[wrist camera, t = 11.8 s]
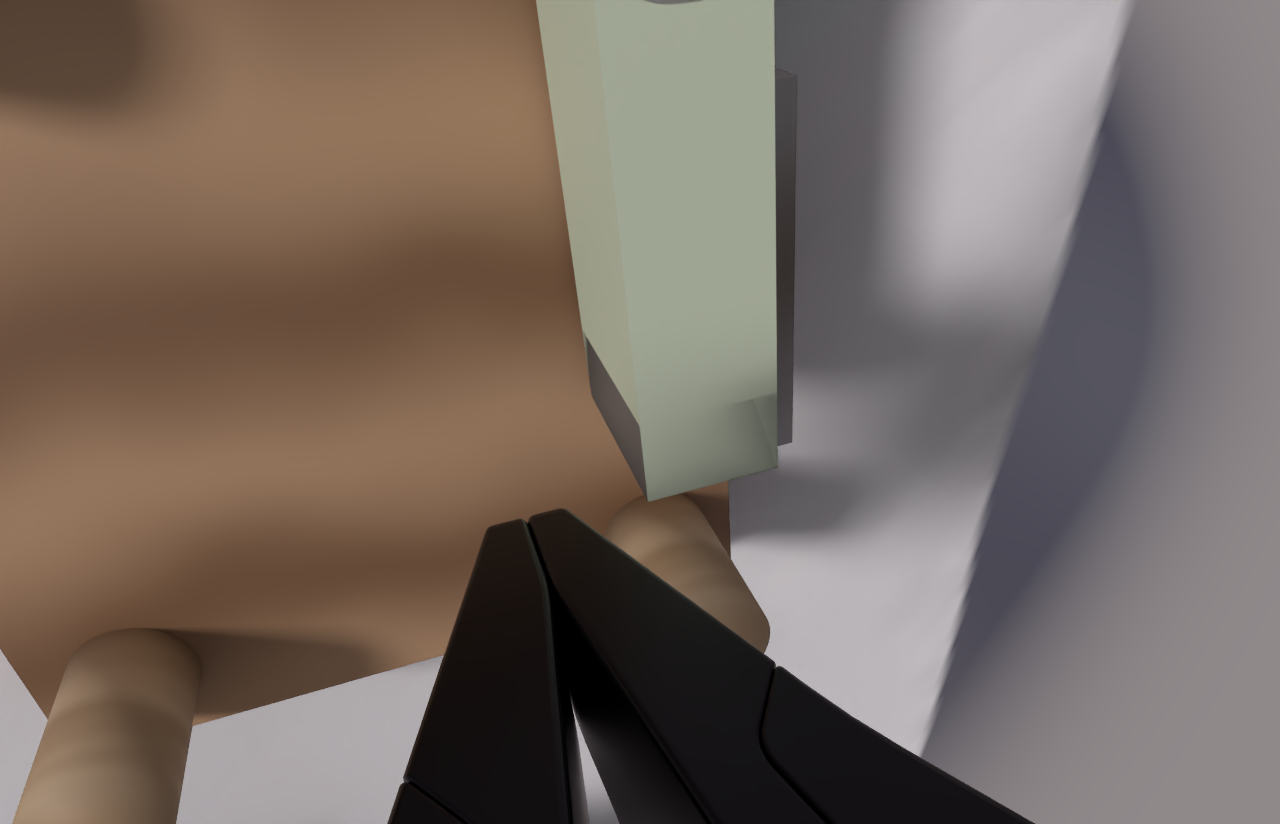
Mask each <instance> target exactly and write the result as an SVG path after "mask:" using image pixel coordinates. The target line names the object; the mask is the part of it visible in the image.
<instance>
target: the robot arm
mask: <svg viewBox="0 0 1280 824" xmlns="http://www.w3.org/2000/svg"><path fill="white" fill-rule="evenodd" d="M572 706H573V708H572ZM573 709H574V712H575V715H576V719H577V721H578V724H579V726H580V729H581V732H582V734H583V737H584V739H585V742H586V744H587V747H588V749H589V751H590V754H591V756H592V758H593V761H594V763H595V766H596V768H597V770H598V773H599V775H600V777H601V780H602V782H603V785H604V787H605V789H606V792H607V794H608V796H609V799H610V801H611V804H612V806H613V808H614V811H615V813H616V815H617V818H618V820H619V823H620V824H1035V823H1033V822H1031V821H1029V820H1028V819H1026V818H1024V817H1022V816H1021V815H1019V814H1017V813H1016V812H1014V811H1012V810H1010V809H1009V808H1007V807H1005V806H1003V805H1001V804H1000V803H998V802H996V801H994V800H993V799H991V798H990V797H988V796H986V795H984V794H983V793H981V792H979V791H977V790H975V789H974V788H972V787H970V786H969V785H967V784H965V783H964V782H962V781H960V780H958V779H957V778H955V777H953V776H951V775H949V774H948V773H946V772H944V771H942V770H941V769H939V768H938V767H936V766H934V765H932V764H931V763H929V762H927V761H925V760H924V759H922V758H920V757H918V756H917V755H915V754H913V753H912V752H910V751H908V750H906V749H905V748H903V747H901V746H900V745H898V744H896V743H895V742H893V741H891V740H890V739H888V738H887V737H885V736H883V735H882V734H880V733H878V732H877V731H875V730H874V729H872V728H870V727H869V726H867V725H865V724H864V723H862V722H860V721H859V720H857V719H856V718H854V717H852V716H851V715H849V714H848V713H846V712H845V711H844V710H842V709H841V708H839V707H838V706H836V705H835V704H833V703H832V702H830V701H829V700H828V699H826V698H825V697H823V696H822V695H820V694H819V693H817V692H816V691H815V690H813V689H812V688H810V687H809V686H807V685H806V684H805V683H803V682H802V681H801V680H799V679H798V678H796V677H795V676H794V675H792V674H791V673H790V672H788V671H787V670H786V669H784V668H783V667H781V666H778V667H776V664H775V662H774V661H773V660H772V659H770V658H769V657H768V656H766V655H765V654H763V653H762V652H761V651H759V650H758V649H757V648H755V647H754V646H753V645H751V644H750V643H748V642H747V641H746V640H744V639H743V638H742V637H740V636H739V635H738V634H736V633H735V632H733V631H732V630H731V629H729V628H728V627H727V626H725V625H724V624H723V623H721V622H720V621H719V620H717V619H716V618H714V617H713V616H712V615H710V614H709V613H708V612H706V611H705V610H704V609H702V608H701V607H699V606H698V605H697V604H695V603H694V602H693V601H691V600H690V599H689V598H687V597H686V596H684V595H683V594H682V593H680V592H679V591H678V590H676V589H675V588H674V587H672V586H671V585H670V584H668V583H667V582H665V581H664V580H663V579H661V578H660V577H659V576H657V575H656V574H655V573H653V572H652V571H650V570H649V569H648V568H646V567H645V566H644V565H642V564H641V563H640V562H638V561H637V560H635V559H634V558H633V557H631V556H630V555H629V554H627V553H626V552H625V551H623V550H622V549H621V548H619V547H618V546H616V545H615V544H614V543H612V542H611V541H610V540H608V539H607V538H606V537H604V536H603V535H601V534H600V533H599V532H597V531H596V530H595V529H593V528H592V527H591V526H589V525H588V524H586V523H585V522H584V521H582V520H581V519H580V518H578V517H577V516H576V515H574V514H573V513H572V512H570V511H569V510H567V509H564V508H558V509H554V510H550V511H546V512H542V513H539V514H535V515H532V516H530V517H529V519H528V524H527V522H526V521H525V520H524V519H521V518H520V519H515V520H511V521H507V522H503V523H499V524H495V525H492V526H490V527H488V528H487V530H486V532H485V534H484V537H483V540H482V543H481V546H480V549H479V552H478V555H477V558H476V561H475V564H474V567H473V570H472V573H471V576H470V579H469V582H468V585H467V588H466V591H465V594H464V597H463V600H462V603H461V606H460V609H459V612H458V615H457V618H456V621H455V624H454V627H453V630H452V633H451V636H450V639H449V642H448V645H447V648H446V651H445V654H444V657H443V660H442V663H441V666H440V669H439V672H438V675H437V678H436V681H435V684H434V687H433V690H432V693H431V696H430V699H429V702H428V705H427V708H426V711H425V714H424V717H423V720H422V723H421V726H420V729H419V732H418V735H417V738H416V741H415V744H414V747H413V750H412V753H411V756H410V759H409V762H408V765H407V768H406V771H405V774H404V777H403V779H404V783H403V784H401V785H400V787H399V790H398V793H397V796H396V799H395V802H394V805H393V808H392V811H391V814H390V817H389V820H388V823H387V824H590V822H589V815H588V808H587V800H586V793H585V786H584V779H583V771H582V764H581V757H580V749H579V742H578V736H577V730H576V724H575V719H574V713H573Z"/></svg>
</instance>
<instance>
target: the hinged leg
mask: <svg viewBox="0 0 1280 824" xmlns="http://www.w3.org/2000/svg"><path fill="white" fill-rule="evenodd" d="M536 4H537V12H538V19H539V26H540V33H541V40H542V47H543V54H544V61H545V68H546V76H547V83H548V90H549V97H550V104H551V111H552V118H553V125H554V132H555V140H556V147H557V154H558V161H559V168H560V175H561V182H562V189H563V196H564V204H565V211H566V218H567V225H568V232H569V239H570V246H571V253H572V260H573V268H574V275H575V282H576V289H577V296H578V303H579V310H580V317H581V324H582V332H583V339H584V346H585V353H586V360H587V367H588V374H589V381H590V388H591V396H592V398H593V400H594V401H595V403H596V405H597V407H598V409H599V411H600V413H601V415H602V416H603V418H604V420H605V422H606V424H607V426H608V428H609V430H610V432H611V433H612V435H613V437H614V439H615V441H616V443H617V445H618V447H619V448H620V450H621V452H622V454H623V456H624V458H625V460H626V462H627V464H628V465H629V467H630V469H631V471H632V473H633V475H634V477H635V479H636V480H637V482H638V484H639V486H640V488H641V490H642V492H643V494H644V496H645V497H646V499H647V501H648V502H649V501H653V500H657V499H661V498H664V497H668V496H672V495H676V494H680V493H683V492H687V491H691V490H695V489H698V488H702V487H706V486H710V485H713V484H717V483H721V482H725V481H728V480H732V479H736V478H740V477H743V476H747V475H751V474H755V473H759V472H762V471H766V470H770V469H774V468H777V467H778V457H777V319H776V180H775V42H774V0H536Z"/></svg>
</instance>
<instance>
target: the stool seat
mask: <svg viewBox="0 0 1280 824" xmlns="http://www.w3.org/2000/svg"><path fill="white" fill-rule="evenodd" d="M796 96H797V76H796V75H793V74H791V73H788V72H785V71H782V70H780V69H777V68H775V180H776V319H777V446H780V445H784V444H788V443H792V412H793V333H794V254H795V175H796ZM558 508H564V509H567V510H569V511H570V512H572V513H573V514H574V515H576V516H577V517H578V518H580V519H581V520H582V521H584V522H585V523H586V524H588V525H589V526H591V527H592V528H593V529H595V530H596V531H597V532H599V533H600V534H601V535H603V536H604V537H606V538H607V539H608V540H610V541H611V542H612V543H614V544H615V545H616V546H618V547H619V548H621V549H622V550H623V551H625V552H626V553H627V554H629V555H630V556H631V557H633V558H634V559H635V560H637V561H638V562H640V563H641V564H642V565H644V566H645V567H646V568H648V569H649V570H650V571H652V572H653V573H655V574H656V575H657V576H659V577H660V578H661V579H663V580H664V581H665V582H667V583H668V584H670V585H671V586H672V587H674V588H675V589H676V590H678V591H679V592H680V593H682V594H683V595H684V596H686V597H687V598H689V599H690V600H691V601H693V602H694V603H695V604H697V605H698V606H699V607H701V608H702V609H704V610H705V611H706V612H708V613H709V614H710V615H712V616H713V617H714V618H716V619H717V620H719V621H720V622H721V623H723V624H724V625H725V626H727V627H728V628H729V629H731V630H732V631H733V632H735V633H736V634H738V635H739V636H740V637H742V638H743V639H744V640H746V641H747V642H748V643H750V644H751V645H753V646H754V647H755V648H757V649H758V650H759V651H761V652H762V653H763V654H764V652H765V650H766V648H767V645H768V642H769V638H770V626H769V622H768V620H767V618H766V616H765V614H764V613H763V611H762V609H761V608H760V606H759V604H758V603H757V601H756V600H755V598H754V596H753V595H752V593H751V591H750V590H749V588H748V586H747V585H746V583H745V582H744V580H743V578H742V577H741V575H740V573H739V572H738V570H737V568H736V567H735V565H734V564H733V562H732V560H731V550H730V523H729V495H728V481H725V482H721V483H717V484H713V485H710V486H706V487H702V488H698V489H695V490H691V491H687V492H683V493H680V494H676V495H672V496H668V497H664V498H661V499H657V500H653V501H649V502H648V501H647V499H646V497H645V496H644V494H643V492H642V490H641V488H640V486H639V484H638V482H637V480H636V479H635V477H634V475H633V473H632V471H631V469H630V467H629V465H628V464H627V462H626V460H625V458H624V456H623V454H622V452H621V450H620V448H619V447H618V445H617V443H616V441H615V439H614V437H613V435H612V433H611V432H610V430H609V428H608V426H607V424H606V422H605V420H604V418H603V416H602V415H601V413H600V411H599V409H598V407H597V405H596V403H595V401H594V400H593V398H592V396H591V388H590V381H589V374H588V367H587V360H586V353H585V346H584V339H583V332H582V324H581V317H580V310H579V303H578V296H577V289H576V282H575V275H574V268H573V260H572V253H571V246H570V239H569V232H568V225H567V218H566V211H565V204H564V196H563V189H562V182H561V175H560V168H559V161H558V154H557V147H556V140H555V132H554V125H553V118H552V111H551V104H550V97H549V90H548V83H547V76H546V68H545V61H544V54H543V47H542V40H541V33H540V26H539V19H538V12H537V4H536V0H0V649H1V651H2V652H3V654H4V655H5V657H6V658H7V660H8V661H9V663H10V664H11V666H12V667H13V669H14V670H15V671H16V673H17V674H18V676H19V677H20V679H21V680H22V682H23V683H24V685H25V686H26V688H27V689H28V691H29V692H30V694H31V695H32V697H33V698H34V700H35V701H36V702H37V704H38V705H39V707H40V708H41V710H42V711H43V713H44V714H45V716H46V717H47V719H48V722H47V724H46V727H45V730H44V733H43V736H42V739H41V742H40V745H39V748H38V750H37V753H36V756H35V759H34V762H33V765H32V768H31V771H30V774H29V776H28V779H27V782H26V785H25V788H24V791H23V794H22V797H21V800H20V802H19V805H18V808H17V811H16V814H15V817H14V820H13V823H12V824H176V820H177V814H178V808H179V802H180V796H181V790H182V784H183V778H184V772H185V766H186V760H187V754H188V748H189V742H190V737H191V731H192V726H194V725H197V724H201V723H205V722H208V721H212V720H215V719H219V718H222V717H226V716H229V715H233V714H236V713H240V712H243V711H247V710H250V709H254V708H258V707H261V706H265V705H268V704H272V703H275V702H279V701H282V700H286V699H289V698H293V697H296V696H300V695H303V694H307V693H311V692H314V691H318V690H321V689H325V688H328V687H332V686H335V685H339V684H342V683H346V682H349V681H353V680H356V679H360V678H363V677H367V676H371V675H374V674H378V673H381V672H385V671H388V670H392V669H395V668H399V667H402V666H406V665H409V664H413V663H416V662H420V661H424V660H427V659H431V658H434V657H438V656H441V655H444V654H445V651H446V648H447V645H448V642H449V639H450V636H451V633H452V630H453V627H454V624H455V621H456V618H457V615H458V612H459V609H460V606H461V603H462V600H463V597H464V594H465V591H466V588H467V585H468V582H469V579H470V576H471V573H472V570H473V567H474V564H475V561H476V558H477V555H478V552H479V549H480V546H481V543H482V540H483V537H484V534H485V532H486V530H487V528H488V527H490V526H492V525H495V524H499V523H503V522H507V521H511V520H515V519H520V518H521V519H524V520H525V521H526V522H527V524H528V519H529V517H530V516H532V515H535V514H539V513H542V512H546V511H550V510H554V509H558Z"/></svg>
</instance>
